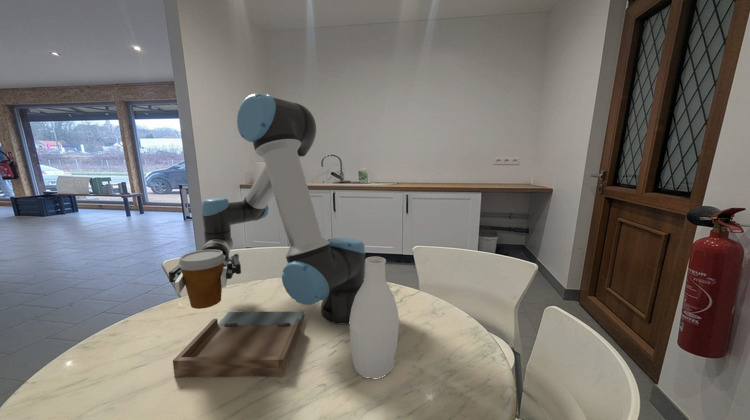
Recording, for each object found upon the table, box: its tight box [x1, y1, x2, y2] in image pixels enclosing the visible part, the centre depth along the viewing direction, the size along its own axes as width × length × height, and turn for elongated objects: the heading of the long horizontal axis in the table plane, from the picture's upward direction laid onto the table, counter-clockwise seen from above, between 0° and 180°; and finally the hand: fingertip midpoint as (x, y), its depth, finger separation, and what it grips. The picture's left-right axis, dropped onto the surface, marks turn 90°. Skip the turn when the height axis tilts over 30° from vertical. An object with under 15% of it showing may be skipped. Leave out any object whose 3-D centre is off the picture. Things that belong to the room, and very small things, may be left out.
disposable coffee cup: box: [177, 249, 225, 310], centre depth 66 cm, size 10×10×12 cm
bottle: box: [349, 256, 400, 378], centre depth 61 cm, size 11×11×25 cm
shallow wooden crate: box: [172, 310, 305, 378], centre depth 70 cm, size 23×23×4 cm
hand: (200, 284), depth 62 cm, fingers closed on disposable coffee cup, 8 cm apart
